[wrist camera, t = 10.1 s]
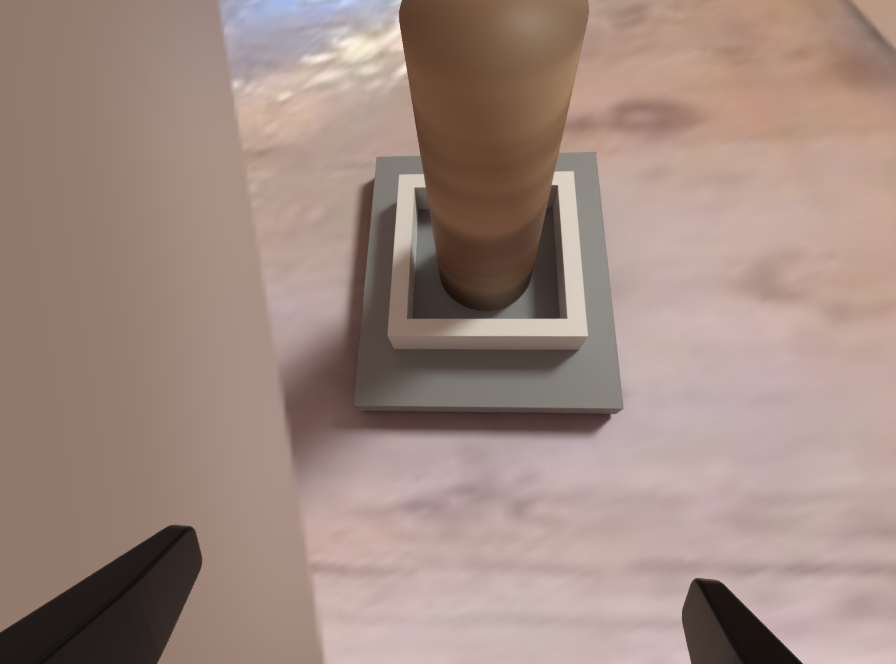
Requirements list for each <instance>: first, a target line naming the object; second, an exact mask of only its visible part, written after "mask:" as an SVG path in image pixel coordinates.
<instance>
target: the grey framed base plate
mask: <svg viewBox="0 0 896 664" xmlns="http://www.w3.org/2000/svg"><path fill="white" fill-rule="evenodd" d="M353 406H354V407H356V408H357V409H358V410H359V411H418V412H503V413H588V414H617V413H618V412H619V411H621V410H622V409H623V399H622V390H621V381H620V372H619V362H618V353H617V344H616V335H615V325H614V316H613V307H612V298H611V288H610V279H609V270H608V260H607V251H606V242H605V233H604V223H603V214H602V205H601V196H600V186H599V177H598V168H597V159H596V152H584V153H559V154H558V158H557V163H556V167H555V172H554V176H553V181H552V186H551V190H550V195H549V199H548V204H547V208H546V213H545V218H544V222H543V227H542V231H541V236H540V240H539V245H538V250H537V254H536V259H535V263H534V268H533V272H532V277H531V281H530V284H529V286H528V288H527V290H526V291H525V292H524V294H523V295H522V296H521V297H520V298H519V299H518V300H516V301H515V302H514V303H512V304H510V305H509V306H506V307H504V308H501V309H498V310H492V311H479V310H474V309H470V308H467V307H465V306H463V305H461V304H459V303H458V302H456V301H455V300H454V299H452V298H451V297H450V296H449V294H448V293H447V292H446V290H445V289H444V287H443V285H442V282H441V279H440V274H439V268H438V261H437V255H436V249H435V242H434V236H433V230H432V224H431V217H430V211H429V205H428V198H427V192H426V186H425V180H424V173H423V167H422V161H421V156H397V157H377V159H376V170H375V181H374V191H373V202H372V212H371V223H370V233H369V244H368V255H367V265H366V276H365V286H364V297H363V307H362V318H361V328H360V339H359V350H358V360H357V371H356V381H355V392H354V402H353Z"/></svg>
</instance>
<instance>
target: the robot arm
mask: <svg viewBox="0 0 896 664" xmlns="http://www.w3.org/2000/svg"><path fill="white" fill-rule="evenodd" d="M201 566H202V555H201V550H200V547H199V543H198V539H197V535H196V531H195V529H194V528H193V527H190V526H181V525H170V526H168V527H166V528H164V529H163V530H161V531H159V532H158V533H156V534H155V535H153V536H152V537H150V538H148V539H147V540H145V541H144V542H142V543H141V544H139V545H137V546H136V547H134V548H133V549H131V550H130V551H128V552H126V553H125V554H123V555H122V556H120V557H119V558H117V559H115V560H114V561H112V562H111V563H109V564H107V565H106V566H104V567H103V568H101V569H100V570H98V571H96V572H95V573H93V574H92V575H90V576H88V577H87V578H85V579H84V580H82V581H81V582H79V583H77V584H76V585H75V586H73V587H71V588H70V589H68V590H66V591H65V592H63V593H62V594H60V595H59V596H57V597H56V598H54V599H52V600H51V601H49V602H47V603H46V604H44V605H43V606H41V607H40V608H38V609H36V610H35V611H33V612H32V613H30V614H29V615H27V616H25V617H24V618H22V619H21V620H19V621H17V622H16V623H14V624H13V625H11V626H10V627H8V628H7V629H5V630H3V631H2V632H0V664H157V663H158V661H159V659H160V657H161V655H162V653H163V651H164V649H165V647H166V645H167V643H168V641H169V638H170V636H171V634H172V632H173V630H174V627H175V625H176V623H177V621H178V619H179V616H180V614H181V612H182V610H183V607H184V605H185V603H186V601H187V599H188V596H189V594H190V592H191V590H192V588H193V585H194V583H195V581H196V579H197V577H198V574H199V572H200V569H201ZM682 623H683V628H684V633H685V637H686V642H687V646H688V651H689V655H690V660H691V664H803V663H802V662H801V661H800V660H799V659H798V658H797V657H796V656H795V655H794V654H793V653H792V652H791V651H790V650H789V649H788V648H787V647H786V646H785V645H784V644H783V643H782V642H781V641H780V640H779V639H778V638H777V637H776V636H775V635H774V634H773V633H772V632H771V631H770V630H769V629H768V628H767V627H766V626H765V625H764V624H763V623H762V622H761V621H760V620H759V619H758V618H757V617H756V616H755V615H754V614H753V613H752V612H751V611H750V610H749V609H748V608H747V607H746V606H745V605H744V604H743V603H742V602H741V601H740V600H739V599H738V598H737V597H736V596H735V595H734V594H733V593H732V592H731V591H730V590H729V589H728V588H727V587H726V586H725V585H724V584H723V583H721V582H720V581H718V580H713V579H703V578H695V579H694V580H693V581H692V582H691V585H690V588H689V591H688V594H687V597H686V600H685V603H684V606H683V610H682Z"/></svg>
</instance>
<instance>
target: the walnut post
mask: <svg viewBox="0 0 896 664" xmlns="http://www.w3.org/2000/svg"><path fill="white" fill-rule="evenodd" d="M588 15H589V4H588V0H402V2H401V6H400V11H399V22H400V29H401V35H402V41H403V48H404V54H405V60H406V66H407V73H408V79H409V85H410V92H411V98H412V104H413V110H414V117H415V123H416V129H417V136H418V142H419V148H420V154H421V161H422V167H423V173H424V180H425V186H426V192H427V198H428V205H429V211H430V217H431V224H432V230H433V236H434V242H435V249H436V255H437V261H438V268H439V274H440V279H441V282H442V285H443V287H444V289H445V290H446V292H447V293H448V294H449V296H450V297H451V298H452V299H454V300H455V301H456V302H458V303H459V304H461V305H463V306H465V307H467V308H470V309H474V310H479V311H492V310H498V309H501V308H504V307H506V306H509V305H510V304H512V303H514V302H515V301H516V300H518V299H519V298H520V297H521V296H522V295H523V294H524V292H525V291H526V290H527V288H528V286H529V284H530V281H531V277H532V272H533V268H534V263H535V259H536V254H537V250H538V245H539V240H540V236H541V231H542V227H543V222H544V218H545V213H546V208H547V204H548V199H549V195H550V190H551V186H552V181H553V176H554V172H555V167H556V163H557V158H558V154H559V149H560V144H561V140H562V135H563V131H564V126H565V122H566V117H567V112H568V108H569V103H570V99H571V94H572V90H573V85H574V80H575V76H576V71H577V67H578V62H579V57H580V53H581V48H582V44H583V39H584V35H585V30H586V25H587V21H588Z"/></svg>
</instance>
